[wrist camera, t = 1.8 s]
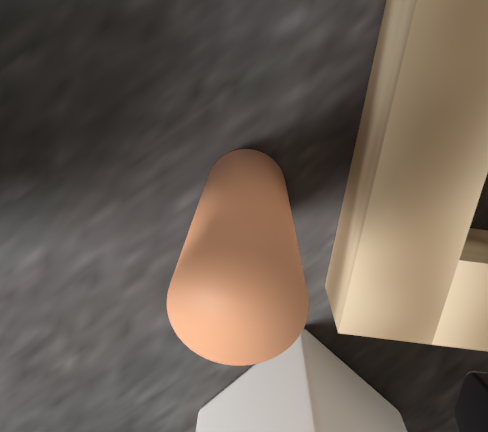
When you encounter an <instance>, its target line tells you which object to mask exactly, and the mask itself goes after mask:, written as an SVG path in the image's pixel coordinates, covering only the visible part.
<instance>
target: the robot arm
mask: <svg viewBox="0 0 488 432" xmlns="http://www.w3.org/2000/svg"><path fill="white" fill-rule="evenodd" d="M454 417H455V421H456V424H457V428H458V431H459V432H488V373H485V372H477V371H470V372H468V373H467V374H466V376H465V378H464V380H463V383H462V386H461V388H460V391H459V394H458V396H457V399H456V402H455V405H454Z"/></svg>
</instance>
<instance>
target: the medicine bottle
mask: <svg viewBox="0 0 488 432" xmlns="http://www.w3.org/2000/svg"><path fill="white" fill-rule="evenodd" d="M196 432H407V430H406V427H405V425H404V422H403V419H402V417H401V414H400V413H399V411H398V410H397V409H396V408H395V407H394V406H393V405H391V404H390V403H389V402H388V401H387V400H386V399H385V398H383V397H382V396H381V395H380V394H379V393H378V392H377V391H376V390H374V389H373V388H372V387H371V386H370V385H369V384H368V383H366V382H365V381H364V380H363V379H362V378H361V377H360V376H358V375H357V374H356V373H355V372H354V371H353V370H352V369H350V368H349V367H348V366H347V365H346V364H345V363H344V362H342V361H341V360H340V359H339V358H338V357H337V356H336V355H334V354H333V353H332V352H331V351H330V350H329V349H328V348H326V347H325V346H324V345H323V344H322V343H321V342H320V341H318V340H317V339H316V338H315V337H314V336H313V335H312V334H310V333H309V332H308V331H307V330H305V329H303V331H302V332H301V334H300V336H299V337H298V339H297V340H296V341H295V342H294V343H293V344H292V345H291V346H290V347H289V348H288V349H287V350H286V351H284V352H283V353H281V354H280V355H278V356H276V357H274V358H272V359H270V360H267V361H265V362H261V363H257V364H254V365H253V366H252V367H251V368H250V369H248V370H247V371H246V372H245V373H243V374H242V375H241V376H240V377H239V378H237V379H236V380H235V381H234V382H233V383H231V384H230V385H229V386H228V387H226V388H225V389H224V390H223V391H222V392H220V393H219V394H218V395H217V396H215V397H214V398H213V399H212V400H211V401H209V402H208V403H207V404H206V405H204V406H203V407H202V408H201V409H200V411H199V413H198V420H197V426H196Z"/></svg>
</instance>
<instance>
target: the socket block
mask: <svg viewBox="0 0 488 432" xmlns="http://www.w3.org/2000/svg"><path fill="white" fill-rule="evenodd" d="M487 173H488V0H386V5H385V9H384V14H383V19H382V23H381V28H380V33H379V37H378V42H377V46H376V51H375V56H374V60H373V65H372V70H371V74H370V79H369V84H368V88H367V93H366V98H365V102H364V107H363V112H362V116H361V121H360V126H359V130H358V135H357V139H356V144H355V149H354V153H353V158H352V163H351V167H350V172H349V177H348V181H347V186H346V191H345V195H344V200H343V205H342V209H341V214H340V219H339V223H338V228H337V233H336V237H335V242H334V246H333V251H332V256H331V260H330V265H329V270H328V274H327V279H326V284H325V288H326V291H327V295H328V299H329V302H330V306H331V309H332V313H333V317H334V320H335V324H336V327H337V331H338V333H340V334H349V335H357V336H365V337H373V338H381V339H389V340H398V341H406V342H414V343H422V344H430V345H439V346H447V347H455V348H463V349H471V350H480V351H488V230H480V229H472V228H470V225H471V222H472V219H473V216H474V213H475V210H476V207H477V204H478V201H479V198H480V195H481V191H482V188H483V185H484V182H485V179H486V176H487Z"/></svg>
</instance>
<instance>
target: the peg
mask: <svg viewBox="0 0 488 432" xmlns="http://www.w3.org/2000/svg"><path fill="white" fill-rule="evenodd" d="M167 311H168V316H169V319H170V323H171V325H172V327H173V329H174V331H175V332H176V334H177V335H178V337H179V338H180V339H181V340H182V342H183V343H184V344H185V345H186V346H188V347H189V348H190V349H191V350H192V351H194V352H195V353H197V354H198V355H200V356H202V357H204V358H206V359H209V360H211V361H214V362H217V363H221V364H226V365H236V366H242V365H252V364H257V363H261V362H265V361H267V360H270V359H272V358H274V357H276V356H278V355H280V354H281V353H283V352H284V351H286V350H287V349H288V348H289V347H290V346H291V345H292V344H293V343H294V342H295V341H296V340H297V339H298V337H299V336H300V334H301V332H302V331H303V328H304V326H305V324H306V321H307V317H308V311H309V299H308V294H307V288H306V283H305V278H304V273H303V268H302V263H301V258H300V253H299V248H298V243H297V238H296V233H295V228H294V223H293V218H292V213H291V208H290V203H289V198H288V193H287V188H286V183H285V178H284V175H283V172H282V170H281V168H280V167H279V165H278V164H277V163H276V162H275V161H274V160H273V159H272V158H271V157H270V156H268V155H267V154H265V153H263V152H260V151H257V150H253V149H239V150H235V151H232V152H229V153H227V154H225V155H224V156H222V157H221V158H220V159H219V160H218V161H217V162H216V163H215V164H214V165H213V167H212V168H211V171H210V173H209V175H208V178H207V181H206V184H205V187H204V189H203V192H202V195H201V198H200V201H199V204H198V207H197V209H196V212H195V215H194V218H193V221H192V224H191V226H190V229H189V232H188V235H187V238H186V241H185V243H184V246H183V249H182V252H181V255H180V258H179V260H178V263H177V266H176V269H175V272H174V275H173V278H172V280H171V283H170V286H169V290H168V295H167Z"/></svg>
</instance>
